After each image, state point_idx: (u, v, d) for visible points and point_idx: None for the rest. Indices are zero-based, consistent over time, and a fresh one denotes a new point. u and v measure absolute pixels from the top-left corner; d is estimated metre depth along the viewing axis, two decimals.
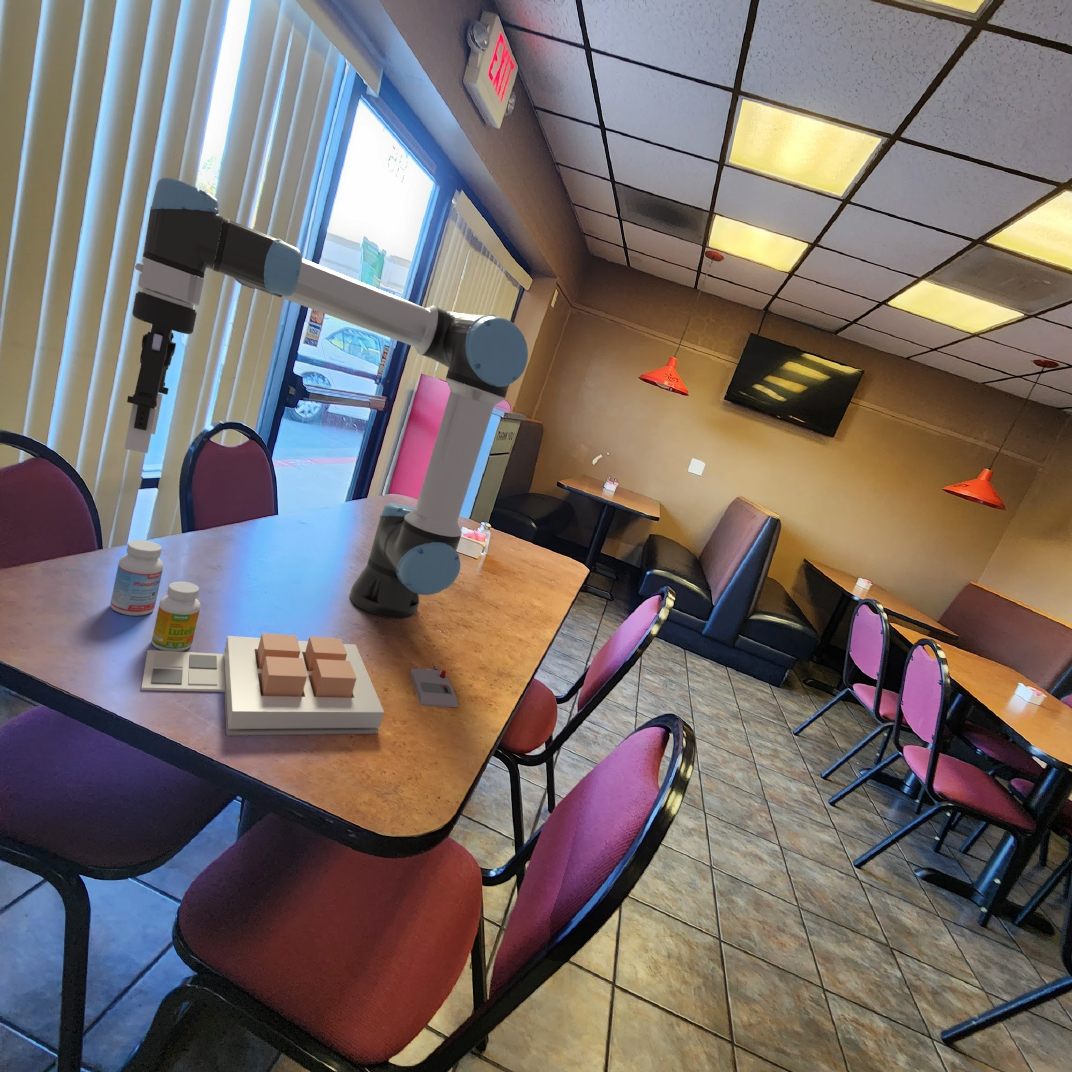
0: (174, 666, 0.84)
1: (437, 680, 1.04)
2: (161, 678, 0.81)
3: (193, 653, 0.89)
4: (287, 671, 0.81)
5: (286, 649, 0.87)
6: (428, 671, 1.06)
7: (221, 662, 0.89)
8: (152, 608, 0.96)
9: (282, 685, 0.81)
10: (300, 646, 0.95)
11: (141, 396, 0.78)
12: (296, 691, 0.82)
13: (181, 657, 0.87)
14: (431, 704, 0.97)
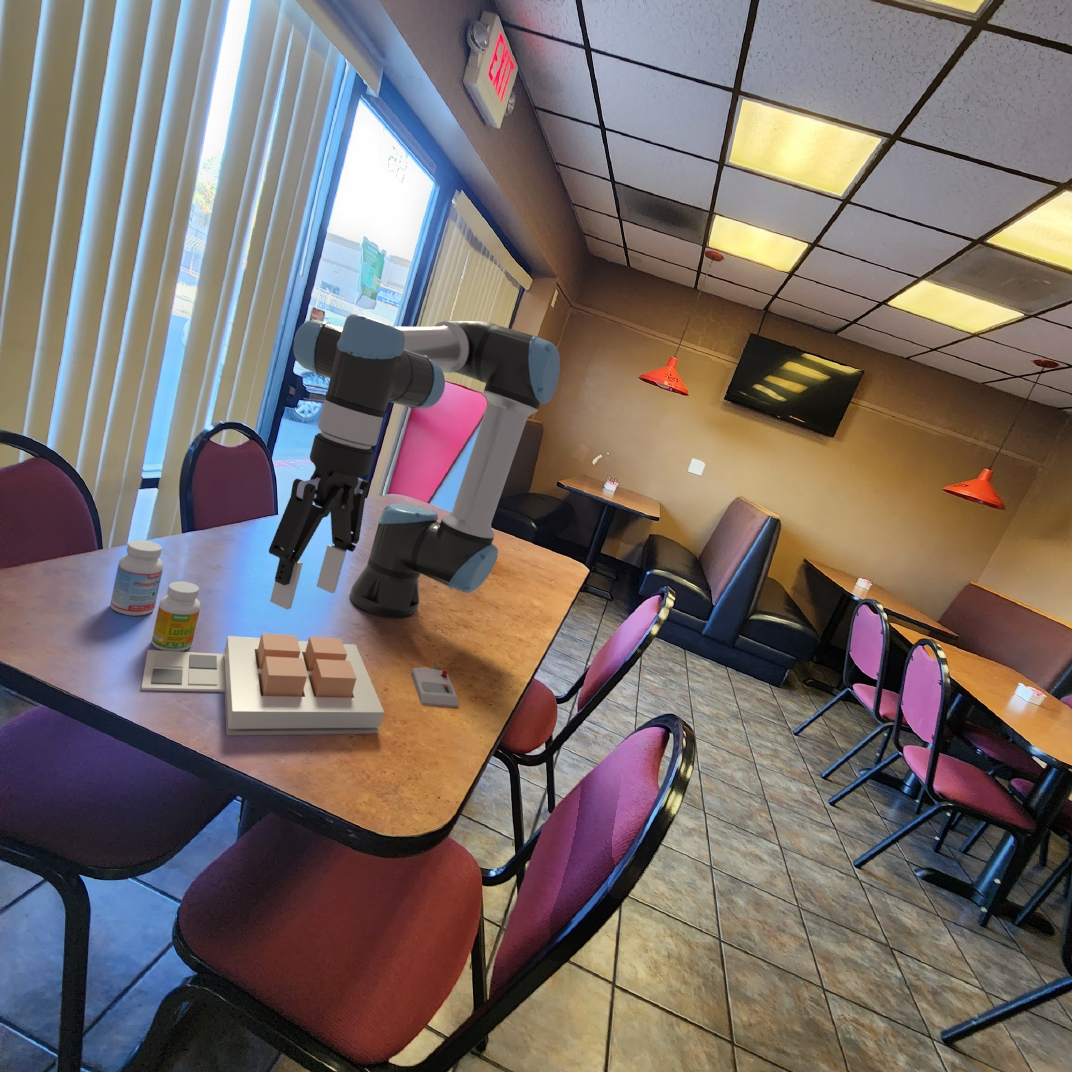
0: (174, 666, 0.84)
1: (438, 680, 1.04)
2: (161, 678, 0.81)
3: (193, 653, 0.89)
4: (287, 671, 0.81)
5: (286, 649, 0.87)
6: (429, 670, 1.06)
7: (221, 662, 0.89)
8: (152, 608, 0.96)
9: (282, 685, 0.81)
10: (300, 646, 0.95)
11: (275, 549, 0.71)
12: (296, 691, 0.82)
13: (181, 657, 0.87)
14: (431, 704, 0.98)
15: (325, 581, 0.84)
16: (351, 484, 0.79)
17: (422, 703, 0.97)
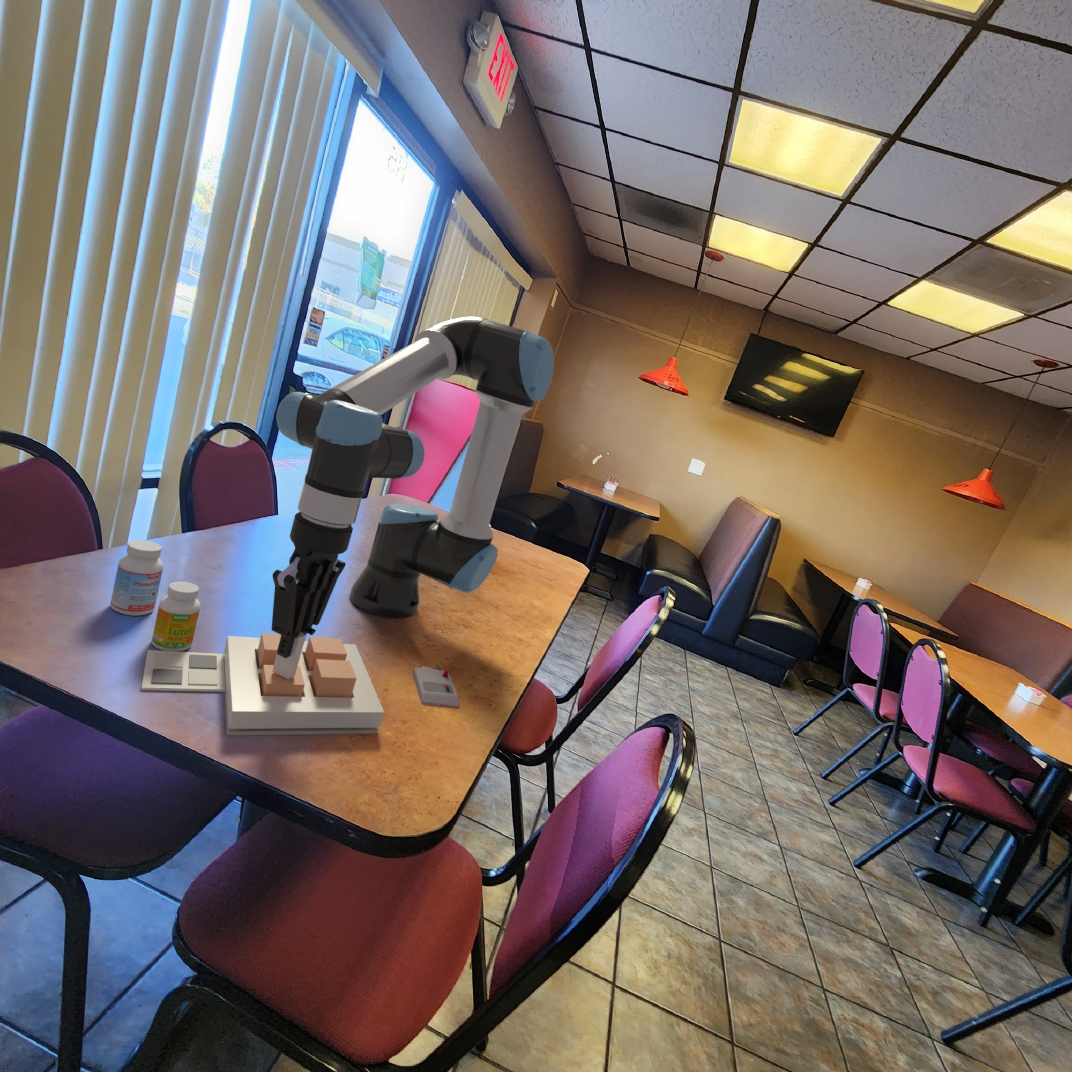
0: (174, 666, 0.84)
1: (439, 679, 1.04)
2: (161, 678, 0.81)
3: (193, 653, 0.89)
4: (285, 679, 0.82)
5: None
6: (431, 670, 1.06)
7: (221, 662, 0.89)
8: (152, 608, 0.96)
9: (280, 693, 0.81)
10: None
11: (278, 627, 0.78)
12: None
13: (181, 657, 0.87)
14: (431, 703, 0.98)
15: None
16: (332, 556, 0.81)
17: (422, 702, 0.97)
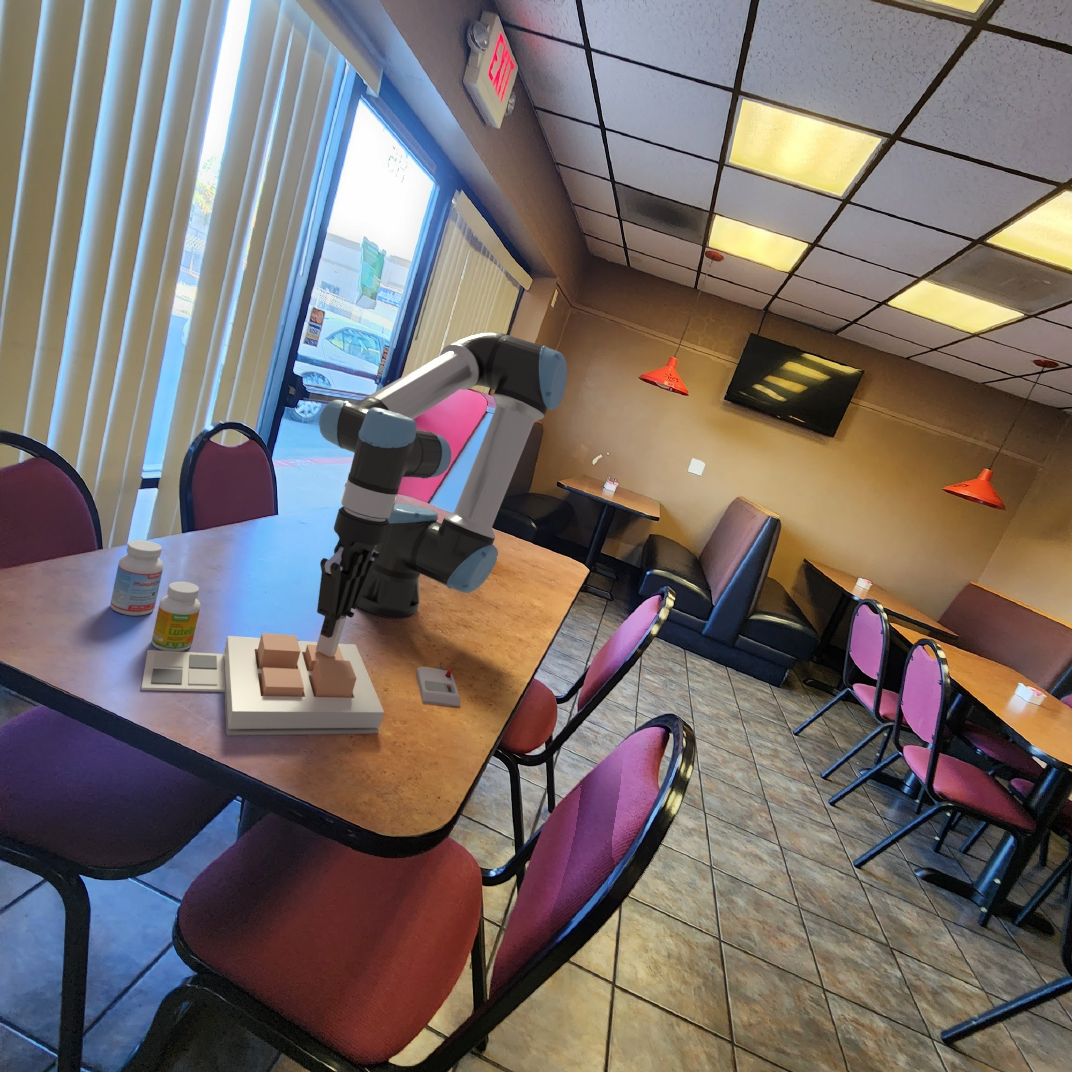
0: (174, 666, 0.84)
1: (441, 679, 1.05)
2: (161, 678, 0.81)
3: (193, 653, 0.89)
4: (284, 682, 0.82)
5: (286, 649, 0.87)
6: (434, 670, 1.07)
7: (221, 662, 0.89)
8: (152, 608, 0.96)
9: None
10: (300, 646, 0.95)
11: (322, 609, 0.87)
12: None
13: (181, 657, 0.87)
14: (432, 702, 0.98)
15: None
16: (369, 546, 0.90)
17: (423, 701, 0.98)
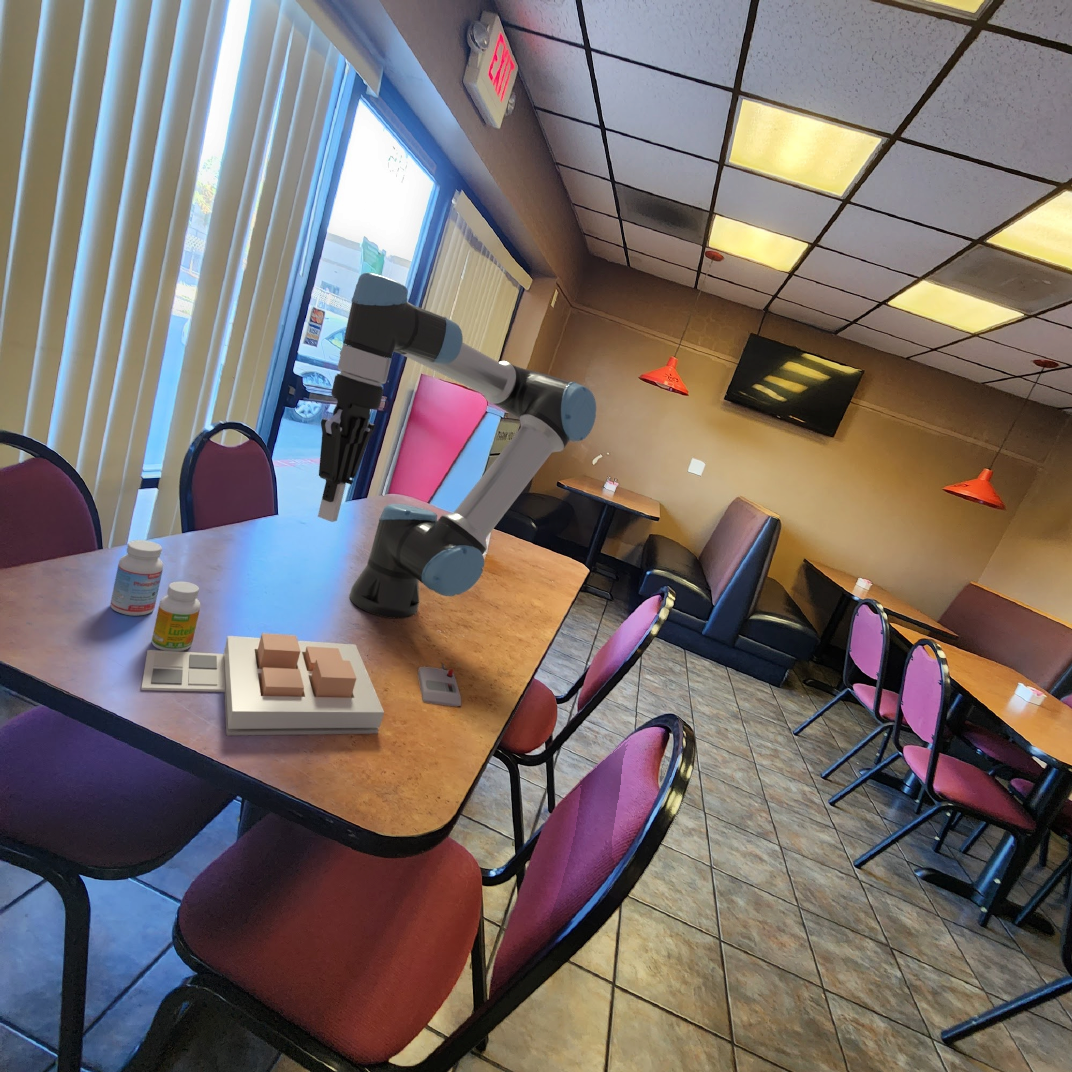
0: (174, 666, 0.84)
1: (443, 679, 1.05)
2: (161, 678, 0.81)
3: (193, 653, 0.89)
4: (284, 682, 0.82)
5: (286, 649, 0.87)
6: (435, 670, 1.07)
7: (221, 662, 0.89)
8: (152, 608, 0.96)
9: None
10: (300, 646, 0.95)
11: (324, 472, 0.92)
12: None
13: (181, 657, 0.87)
14: (433, 702, 0.98)
15: None
16: (365, 415, 0.95)
17: (424, 700, 0.98)
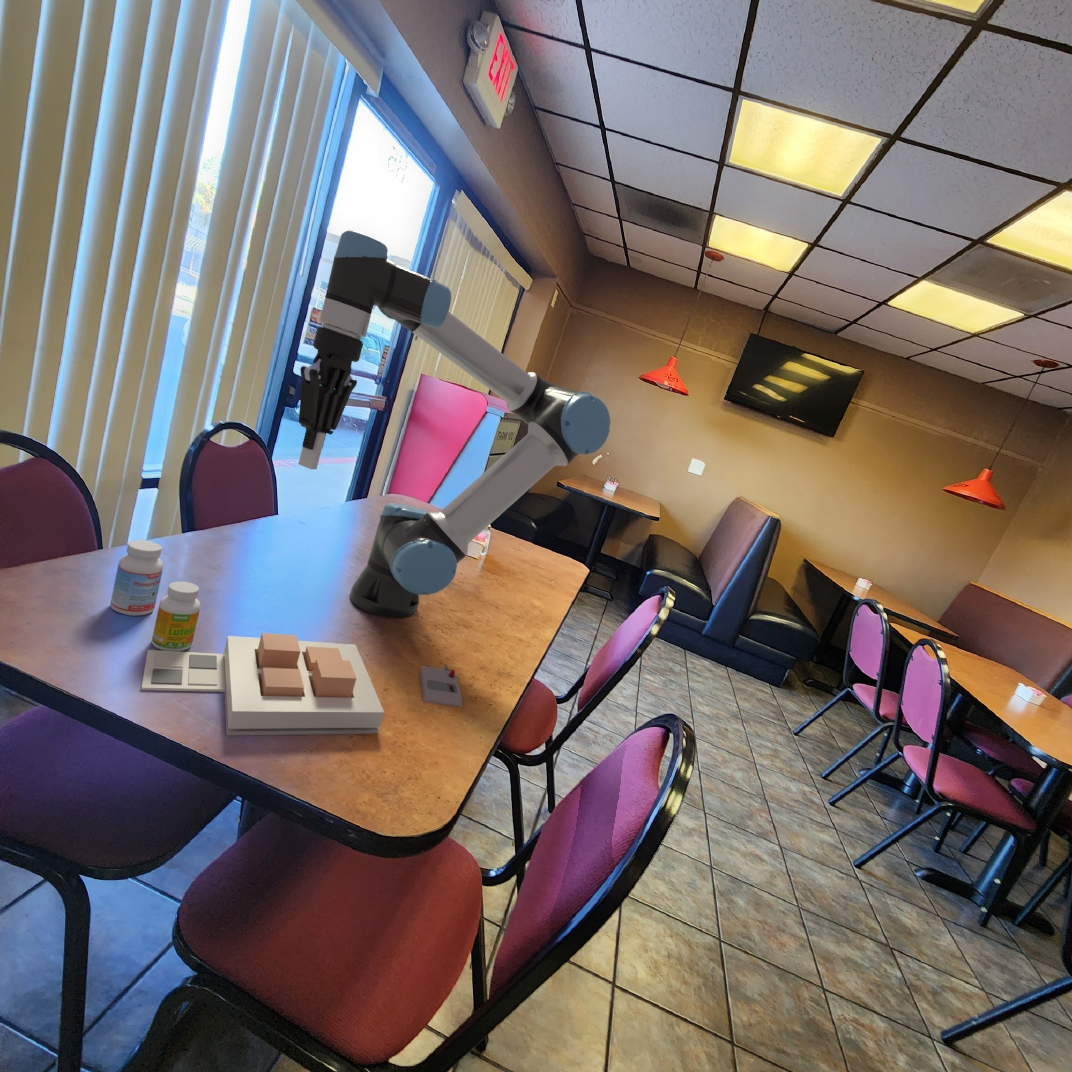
0: (174, 666, 0.84)
1: (445, 679, 1.05)
2: (161, 678, 0.81)
3: (193, 653, 0.89)
4: (284, 682, 0.82)
5: (286, 649, 0.87)
6: (437, 670, 1.08)
7: (221, 662, 0.89)
8: (152, 608, 0.96)
9: None
10: (300, 646, 0.95)
11: (303, 419, 0.97)
12: None
13: (181, 657, 0.87)
14: (434, 701, 0.99)
15: None
16: (346, 368, 1.00)
17: (425, 700, 0.98)
